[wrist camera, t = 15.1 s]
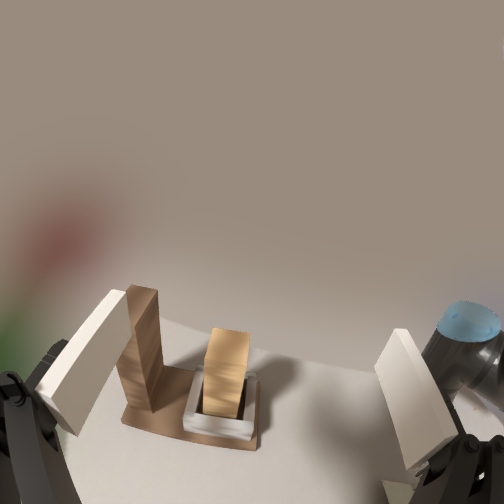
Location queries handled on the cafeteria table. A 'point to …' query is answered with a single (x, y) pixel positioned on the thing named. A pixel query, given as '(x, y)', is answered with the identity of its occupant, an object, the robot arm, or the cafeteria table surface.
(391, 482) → the wall
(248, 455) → the cafeteria table surface
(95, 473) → the cafeteria table surface
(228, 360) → the block
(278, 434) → the cafeteria table surface
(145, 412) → the wooden peg insertion stand
